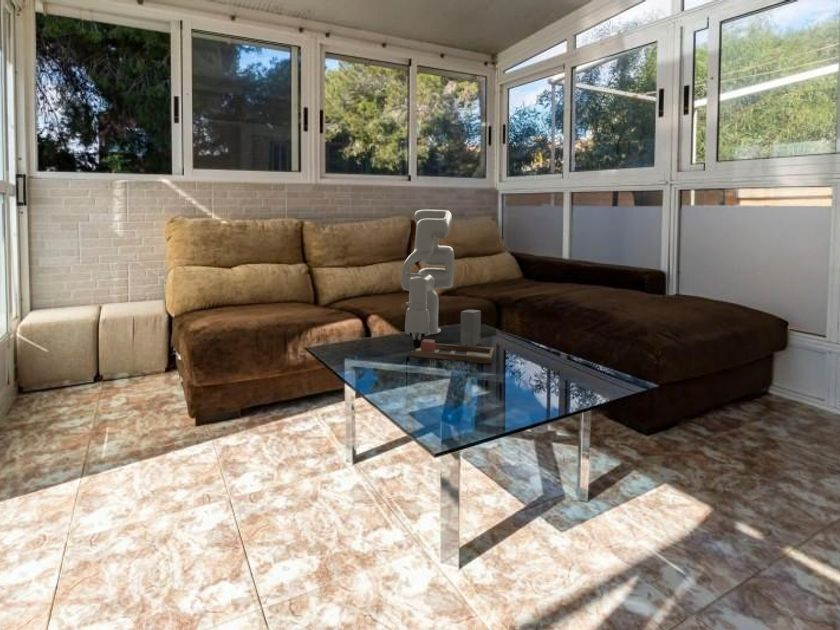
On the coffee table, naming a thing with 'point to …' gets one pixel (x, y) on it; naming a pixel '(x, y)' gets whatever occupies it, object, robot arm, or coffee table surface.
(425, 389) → the coffee table surface
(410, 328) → the robot arm
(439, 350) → the trap box
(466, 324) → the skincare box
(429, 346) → the oxblood block
